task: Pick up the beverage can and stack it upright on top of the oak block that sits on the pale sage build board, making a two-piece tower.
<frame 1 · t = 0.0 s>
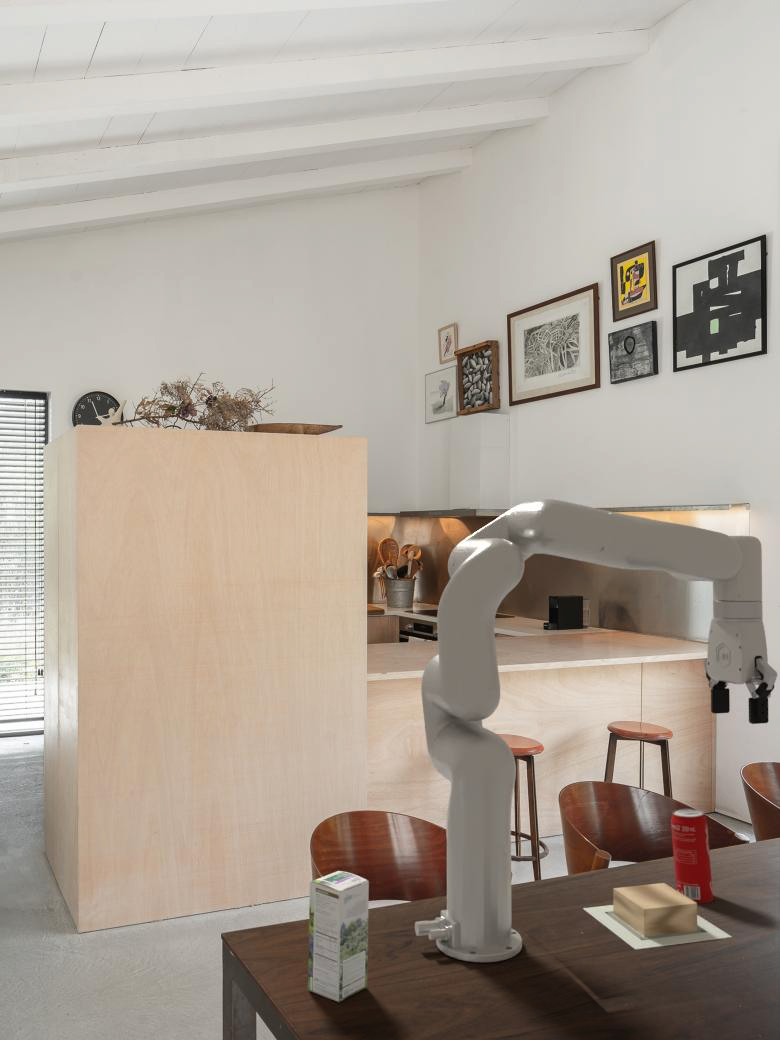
hand: (738, 717, 151), 31 cm above the table, tool pointing down, fingers open, 9 cm apart
oak block: (654, 922, 143), point 1 cm above the table, touching build board
beverage can: (692, 904, 154), on the table
syrup box: (338, 991, 124), on the table
build board: (654, 929, 143), on the table
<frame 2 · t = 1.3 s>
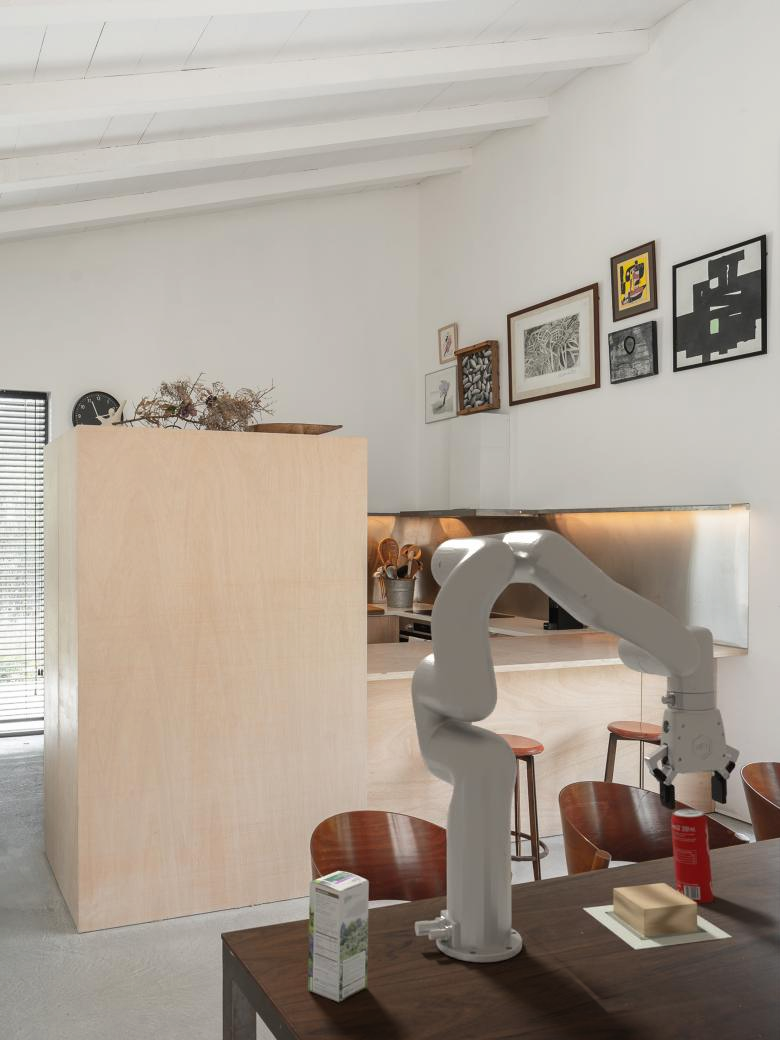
hand: (693, 804, 155), 16 cm above the table, tool pointing down, fingers open, 9 cm apart
nothing on the table moved.
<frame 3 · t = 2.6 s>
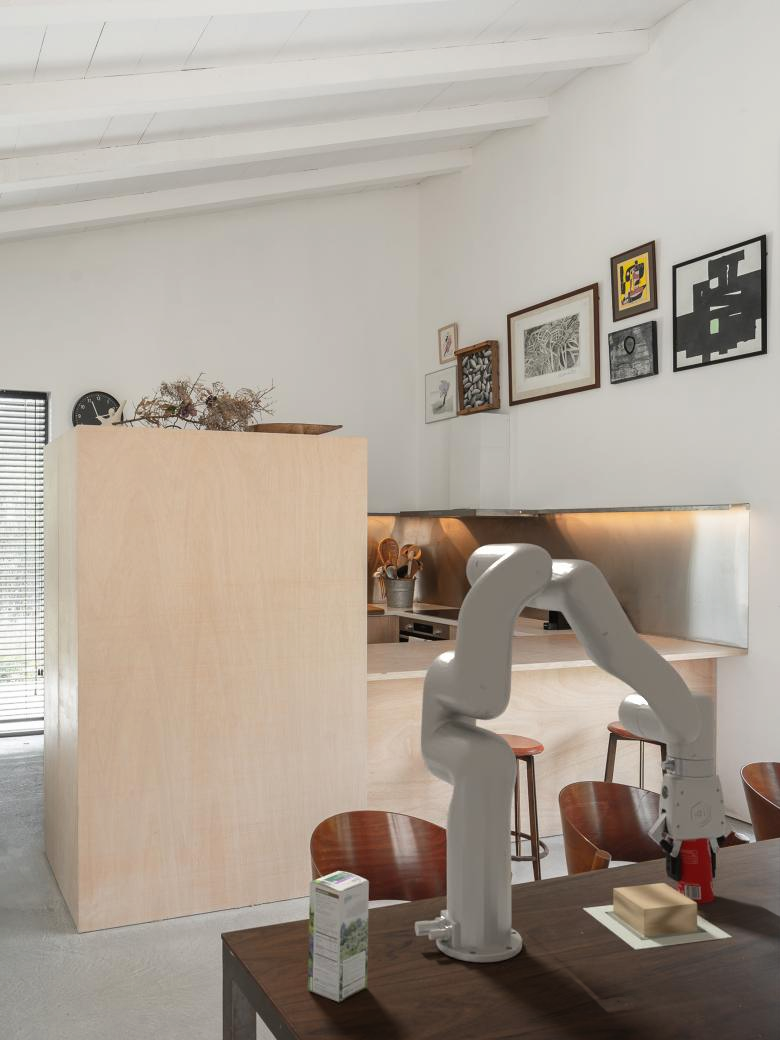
hand: (691, 876, 154), 4 cm above the table, tool pointing down, fingers closed on beverage can, 5 cm apart
beverage can: (693, 904, 154), on the table, touching gripper
everything else where it was.
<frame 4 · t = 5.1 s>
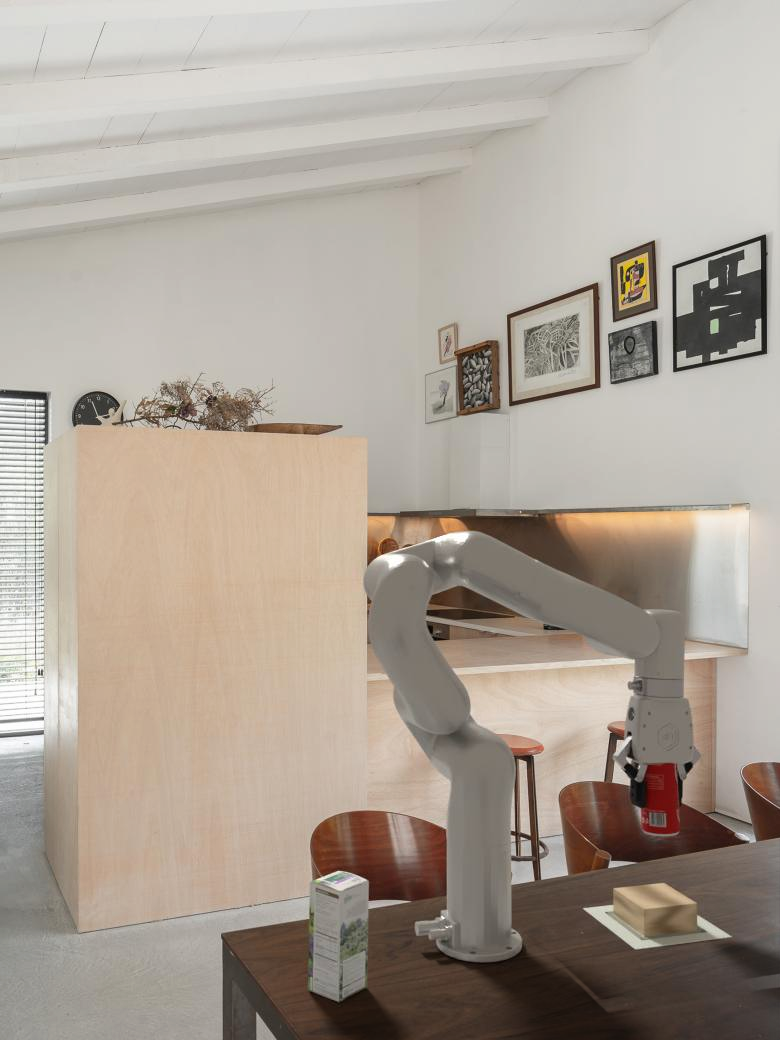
hand: (656, 803, 146), 19 cm above the table, tool pointing down, fingers closed on beverage can, 5 cm apart
beverage can: (657, 833, 146), point 14 cm above the table, touching gripper
everything else where it was.
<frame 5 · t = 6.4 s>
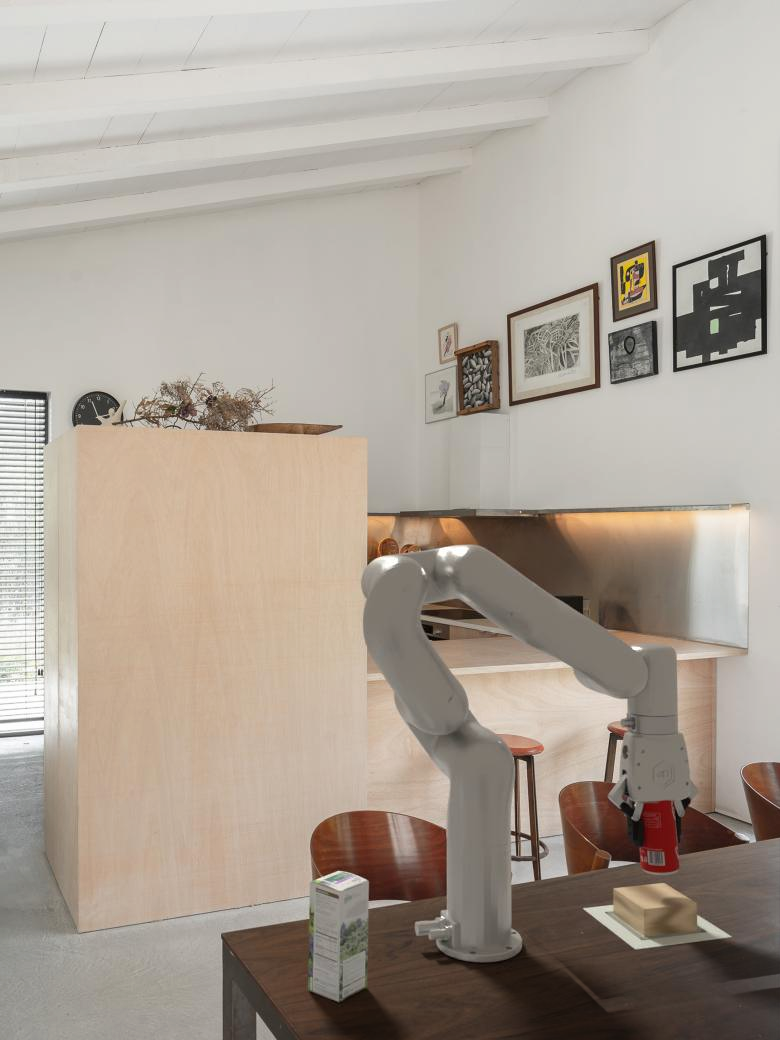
hand: (654, 841, 144), 13 cm above the table, tool pointing down, fingers closed on beverage can, 5 cm apart
beverage can: (657, 871, 144), point 9 cm above the table, touching gripper
everything else where it was.
when the fingers open (11 cm above the table, at t = 7.3 s): beverage can drops 1 cm, resting on oak block.
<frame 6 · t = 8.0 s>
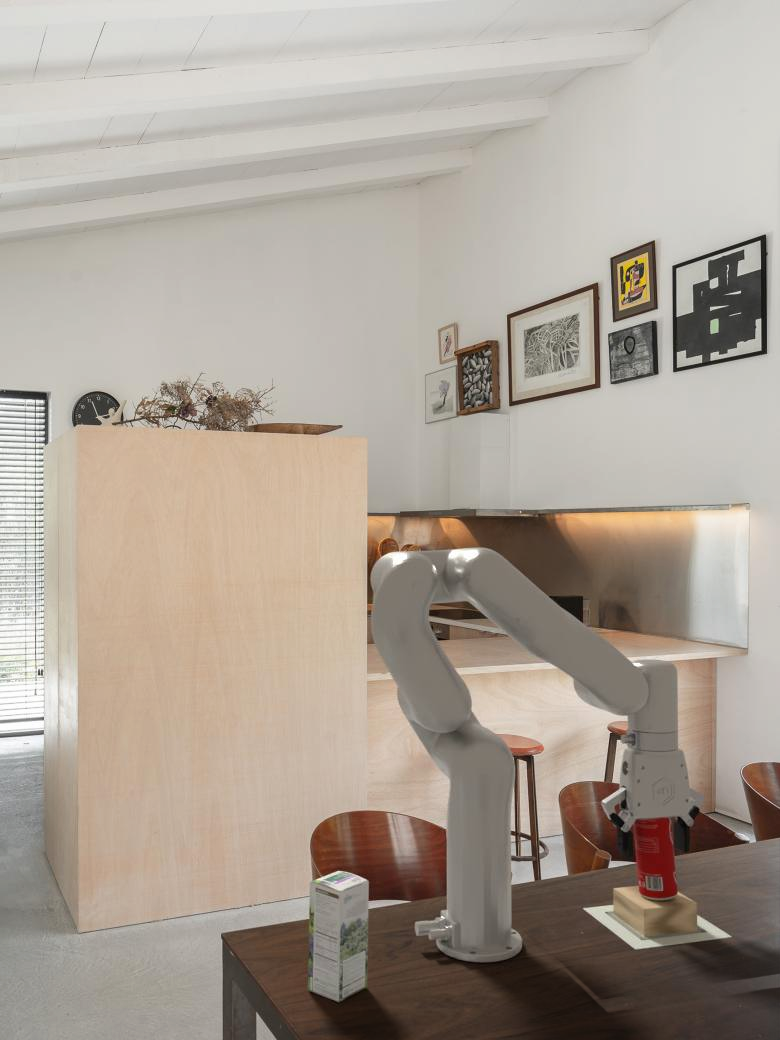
hand: (653, 852, 144), 12 cm above the table, tool pointing down, fingers open, 9 cm apart
oak block: (654, 922, 143), point 1 cm above the table, touching beverage can, build board
beverage can: (655, 896, 144), point 5 cm above the table, touching oak block
everything else where it was.
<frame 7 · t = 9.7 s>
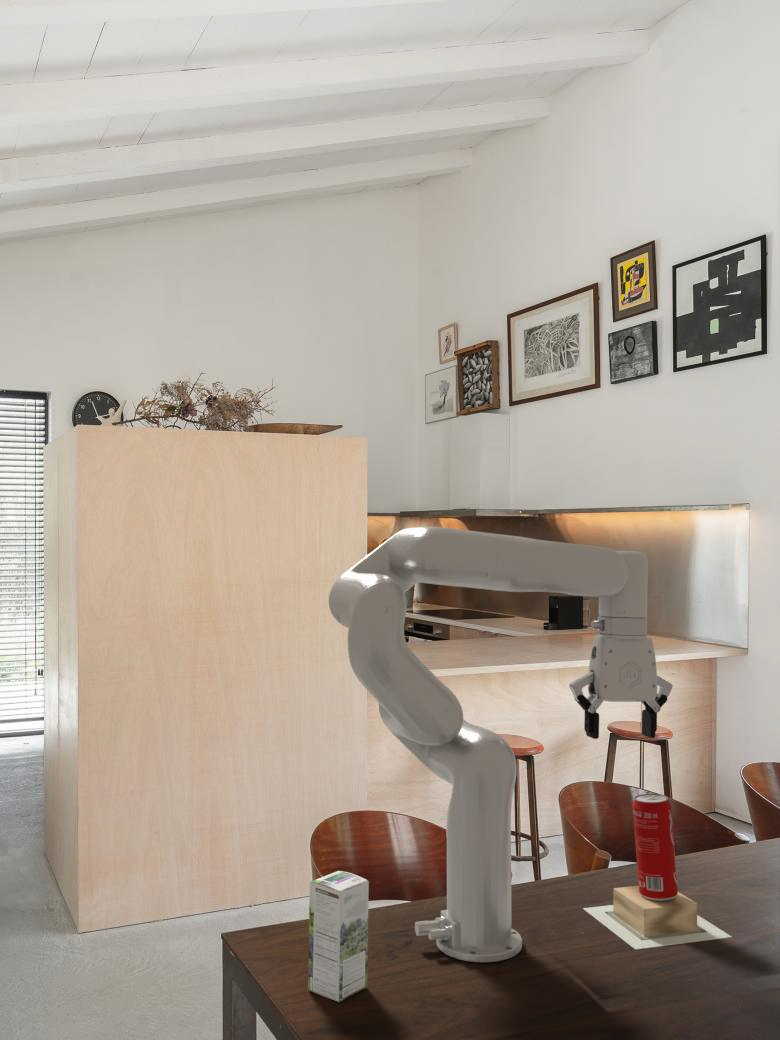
hand: (620, 736, 148), 29 cm above the table, tool pointing down, fingers open, 9 cm apart
nothing on the table moved.
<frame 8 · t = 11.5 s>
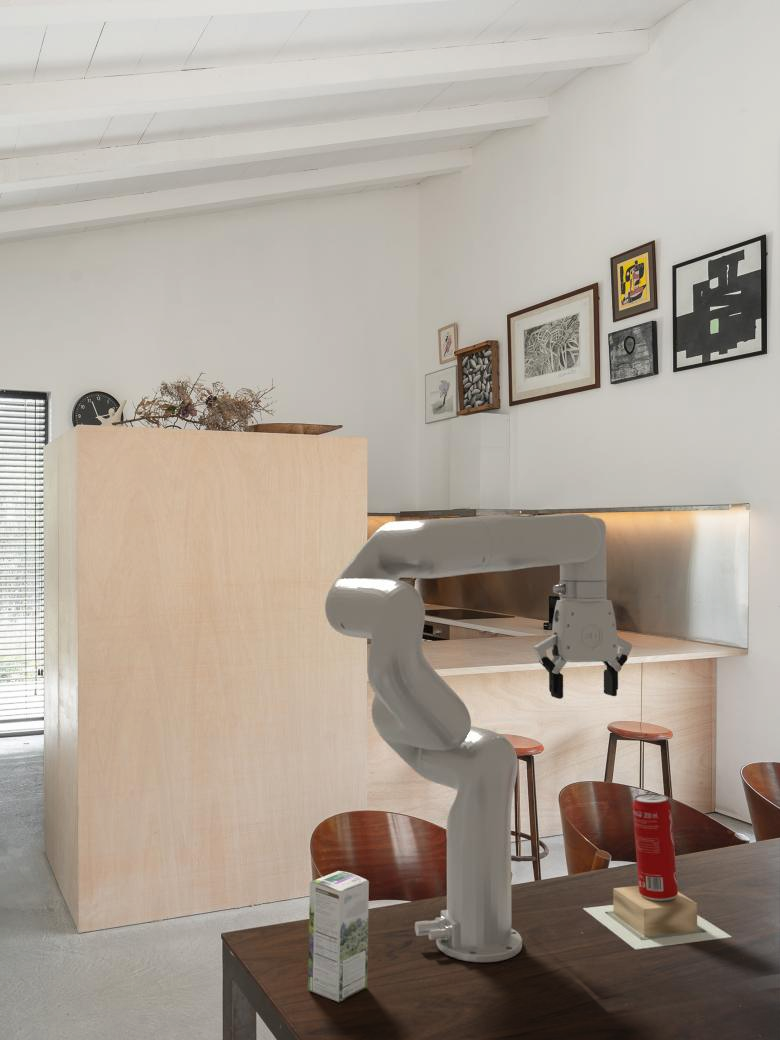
hand: (583, 696, 154), 34 cm above the table, tool pointing down, fingers open, 9 cm apart
nothing on the table moved.
at the end: beverage can 0.2 cm off-centre on the oak block, point 3.8 cm above the oak block's base; beverage can tilted 0°; the gripper is holding nothing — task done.
